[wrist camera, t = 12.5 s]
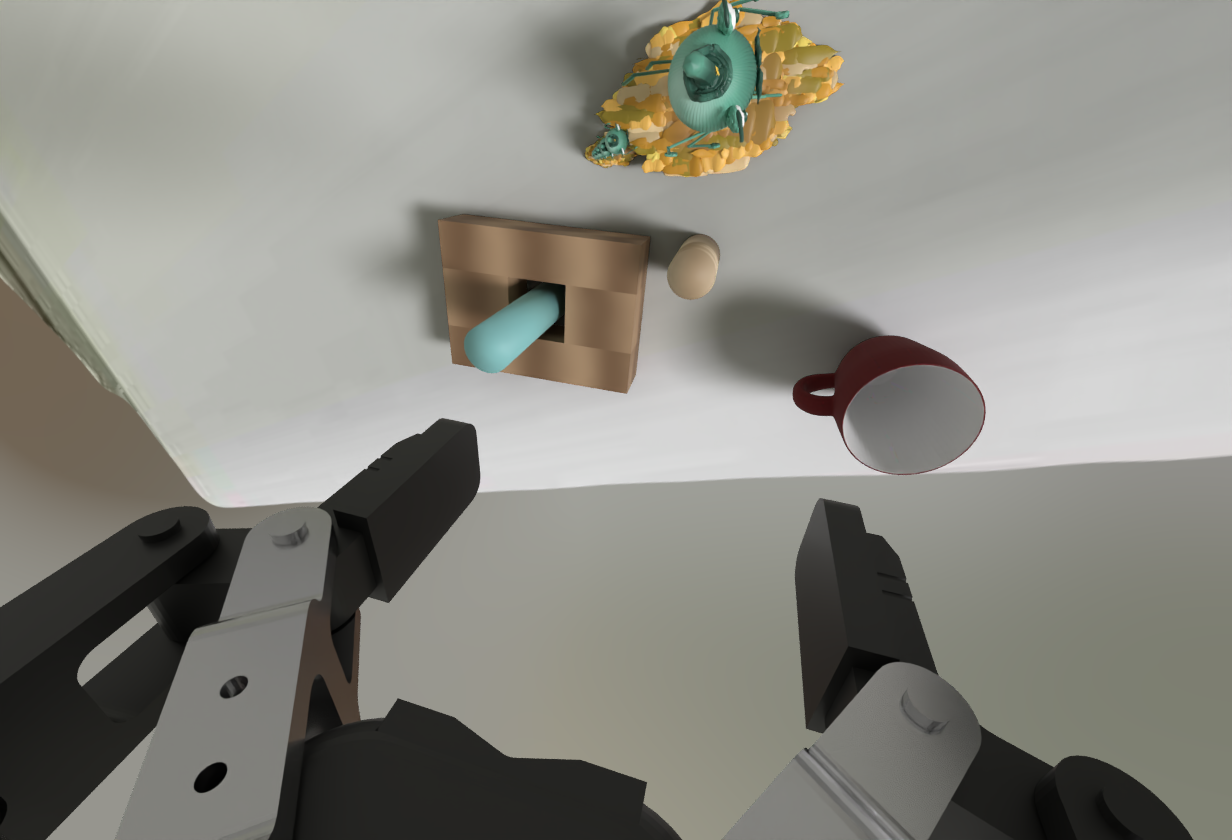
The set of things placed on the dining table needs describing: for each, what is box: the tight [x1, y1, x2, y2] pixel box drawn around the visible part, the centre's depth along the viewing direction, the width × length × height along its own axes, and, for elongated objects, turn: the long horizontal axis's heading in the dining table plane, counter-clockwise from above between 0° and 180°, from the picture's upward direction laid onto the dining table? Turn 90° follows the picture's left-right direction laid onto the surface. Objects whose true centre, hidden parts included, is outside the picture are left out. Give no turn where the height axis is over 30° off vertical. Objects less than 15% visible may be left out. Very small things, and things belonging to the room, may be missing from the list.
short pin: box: [667, 234, 720, 300], centre depth 35 cm, size 3×3×7 cm
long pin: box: [464, 282, 566, 373], centre depth 37 cm, size 3×3×13 cm
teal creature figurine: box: [585, 0, 844, 177], centre depth 27 cm, size 10×18×15 cm, turn 98°
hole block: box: [438, 214, 650, 394], centre depth 40 cm, size 16×12×4 cm
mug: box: [793, 335, 986, 475], centre depth 35 cm, size 11×8×10 cm
